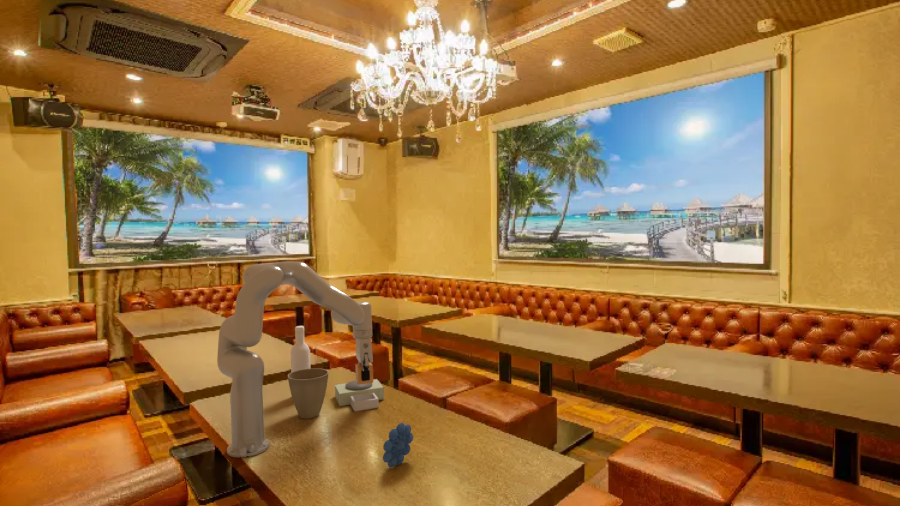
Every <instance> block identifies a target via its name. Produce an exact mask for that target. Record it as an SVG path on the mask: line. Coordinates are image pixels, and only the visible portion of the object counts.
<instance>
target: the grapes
mask: <svg viewBox="0 0 900 506" xmlns="http://www.w3.org/2000/svg"><path fill="white" fill-rule="evenodd" d="M413 440H414V435H413V433H412V427H411V425H410V424H405V423H404V422H399V423H398V424H397V426H396V428H393V429H391V430H389V432H388V439H387V440H386V441H385V442H384V443H383V451H384V453H383V456H382V460H383V462H384V463H387V466H388V468H394V467H395V466H396V465H398V466H399V465H401V464H402V463H403V462H404V460H405V456H407V455H409V453H410V451H411V445H410V444H411V443H413Z"/></svg>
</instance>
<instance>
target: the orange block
mask: <svg viewBox="0 0 900 506" xmlns="http://www.w3.org/2000/svg"><path fill="white" fill-rule="evenodd" d="M354 365H355V381H356V382H357V384H358V385H360V384H367V383H373V379H374V365H373V363H371V362H370V361H369V370H370V380H367V381H362V377H361V371H362V364H361V363H360V364H359V363H355V364H354ZM364 365H365V364H364Z"/></svg>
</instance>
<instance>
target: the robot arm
mask: <svg viewBox="0 0 900 506" xmlns="http://www.w3.org/2000/svg"><path fill="white" fill-rule="evenodd" d="M242 278H243V282H244V284H243V286H241V288H240V290H239V291H238V292H237V296H236V300H235V308H234V313H233V315H230V316H228V317H227V318H226V319H224V320H223V322H222V323H221V325H220V328H219V332H218V343H217V359H216V361H217V367H218V370H219V371H220V373H221V374H222V375H225V376H226V377H228V378H231V380H232V381H231V387H230V394H229V404H230V426H231V444H229V445H228V446H227V448H226V453H227V455H228V456H230V457H232V458H239V459H240V457H241V458H246V457H245V456H249V457H253V456H257V455H259V454H261V453H263V452H265V451H266V450H267V449H268V448H269V447H270V440H269V439H268V438H266V437H265V426H264V425H265V422H264V419H265V418H264V400H263V399H264V398H263V397H264V396H263V384H264V383H263V382H264V376H265V375H264V374H265V362H264V361H263V360H264V359H263V358H262V357H261V356H260V355H259V354H257V353H256V352H254V351H251V350H248V348H252V347H254V346H257V345H258V344H259V343H260V342H261V340H262V337H263V328H264V327H263V326H264V325H263V323H264V312H265V310H264V309H265V305H266V301H267V299H268V297H269V296H270V295H271V293H273V292H274V291H275V290H277V289H278V288H279V287H280V286H282V285H289V286H293V287H294V288H295V289H297V290H298V291H299V292H300V293H302V294H303V295H304V296H305V297H306V298H308V299H309V300H310V301H311V302H313V304H314V303H315V304H316V305H318V306H321V307H324V308H327V309H330V310H331V311H330V316H331V319H332V320H333V321H334V322H335V323H338V324H342V325H348V326H352V338H353V339H355V356H356V359H357V361H358V364H360V363H361V364H362V371H361V377H362V381H367V380H370V370H369V362H371V364H373V362H374V360H373V359H374V357H373V356H374V355H373V345H372V339H371V338H372V337H373V320H372V319H373V318H372V317H373V316H372V315H373V314H372V305H371V302H370V301H356V300H355V299H353V298H352V297H351V296H349V295H348V294H346V293H345V292H342V291H341V290H339V289H338V288H336V287H335V286H333V285H331V284H330V283H328V282H327V281H326V280H325V279H324V278H323V277H321V275H319V274H318V273H317V272H316V271H314V269H312V268H311V267H310V266H309V265H308V264H306V263H305V262H302V261H293V260H287V261H276V262H267V263H266V262H265V263H255V264H251V265H249V266H248V267H246V268H245V270H244V272H243V274H242ZM364 364H365V365H364Z"/></svg>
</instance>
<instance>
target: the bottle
mask: <svg viewBox="0 0 900 506" xmlns="http://www.w3.org/2000/svg"><path fill="white" fill-rule="evenodd" d="M294 331H295V332H294V334H295V336H294V338H295V343H294V344H293V345H292V347H291V349H290V369H291V370H290V371H291V372H294V371H298V370H302V369H311V349H310V347H309V345H308V344H307V343H306V342H305V326H304V325H297V326H295V327H294ZM291 372H290V373H291Z"/></svg>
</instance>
